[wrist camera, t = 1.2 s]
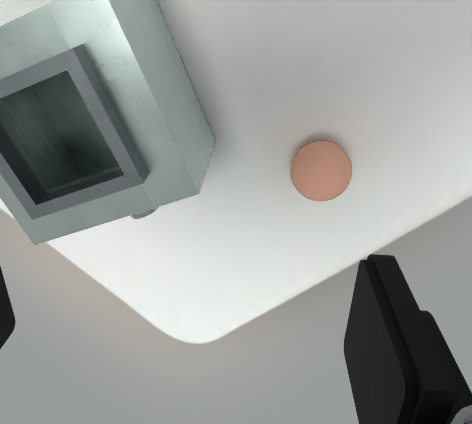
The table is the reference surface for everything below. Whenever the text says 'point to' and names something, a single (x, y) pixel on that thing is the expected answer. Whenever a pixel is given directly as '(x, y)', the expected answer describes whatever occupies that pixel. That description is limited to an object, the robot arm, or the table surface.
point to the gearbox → (95, 117)
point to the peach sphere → (321, 171)
